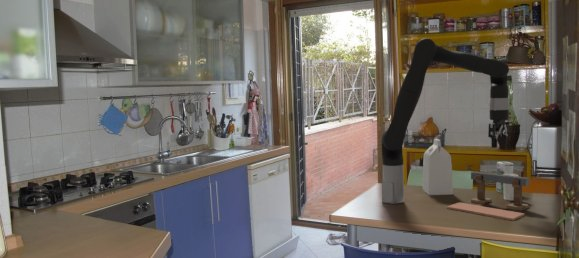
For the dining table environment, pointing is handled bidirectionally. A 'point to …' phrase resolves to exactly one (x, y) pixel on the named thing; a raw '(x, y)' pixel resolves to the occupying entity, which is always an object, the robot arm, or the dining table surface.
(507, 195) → the cup
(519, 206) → the stand right
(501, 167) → the syrup box
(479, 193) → the stand left
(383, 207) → the dining table surface
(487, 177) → the rail
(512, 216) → the mat
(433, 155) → the milk
